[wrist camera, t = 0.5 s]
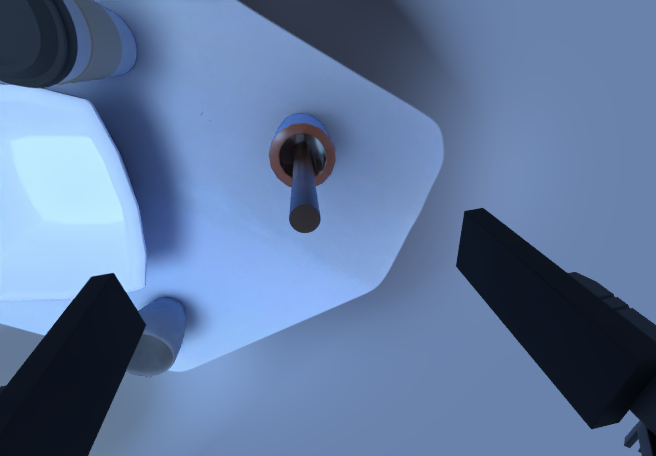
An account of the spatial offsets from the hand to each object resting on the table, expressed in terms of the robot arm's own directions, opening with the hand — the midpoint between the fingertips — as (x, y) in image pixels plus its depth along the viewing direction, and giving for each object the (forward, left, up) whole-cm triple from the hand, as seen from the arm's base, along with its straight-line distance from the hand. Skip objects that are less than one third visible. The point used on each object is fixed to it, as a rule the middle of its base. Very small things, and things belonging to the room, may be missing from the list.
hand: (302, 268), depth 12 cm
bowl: (+24, -19, -33) cm, 45 cm away
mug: (+38, +1, -33) cm, 51 cm away
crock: (0, +1, -33) cm, 33 cm away
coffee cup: (+6, -23, -33) cm, 41 cm away
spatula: (0, +1, -32) cm, 32 cm away
